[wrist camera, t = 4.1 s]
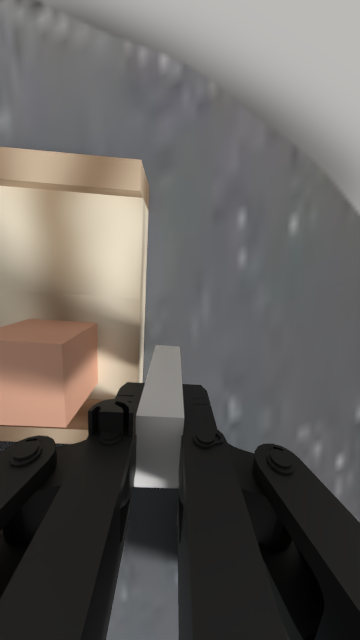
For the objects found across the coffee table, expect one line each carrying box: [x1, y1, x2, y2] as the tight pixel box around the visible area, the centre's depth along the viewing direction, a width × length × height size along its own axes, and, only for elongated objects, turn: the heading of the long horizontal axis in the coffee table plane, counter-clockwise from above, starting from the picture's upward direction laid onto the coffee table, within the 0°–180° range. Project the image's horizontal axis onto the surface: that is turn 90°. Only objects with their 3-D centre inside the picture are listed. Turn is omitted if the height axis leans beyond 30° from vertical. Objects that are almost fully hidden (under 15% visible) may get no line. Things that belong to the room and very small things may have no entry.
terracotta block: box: [0, 319, 98, 428], centre depth 12 cm, size 4×4×4 cm
